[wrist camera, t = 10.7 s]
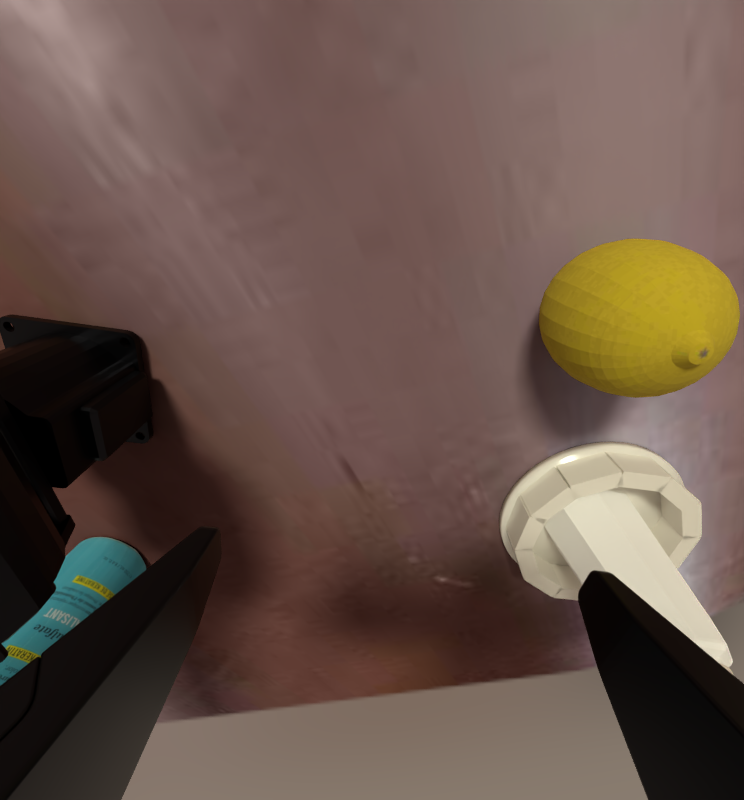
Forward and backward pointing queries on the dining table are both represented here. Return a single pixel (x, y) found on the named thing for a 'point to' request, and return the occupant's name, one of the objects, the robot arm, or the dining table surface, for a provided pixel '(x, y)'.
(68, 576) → the tube
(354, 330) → the dining table surface
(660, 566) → the pepper shaker
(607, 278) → the lemon
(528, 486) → the ring dish
